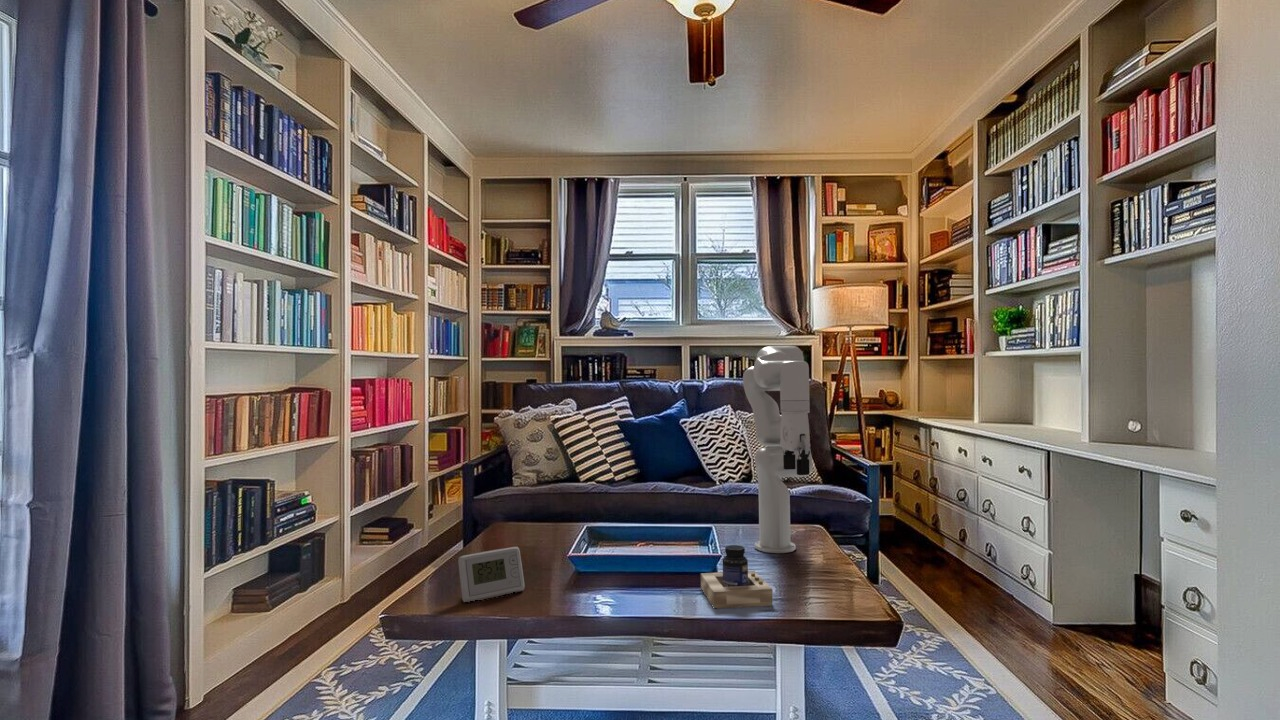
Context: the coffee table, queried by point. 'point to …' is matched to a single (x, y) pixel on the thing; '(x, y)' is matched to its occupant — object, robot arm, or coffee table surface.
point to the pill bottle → (735, 567)
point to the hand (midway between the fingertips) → (796, 471)
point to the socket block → (736, 591)
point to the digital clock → (490, 573)
